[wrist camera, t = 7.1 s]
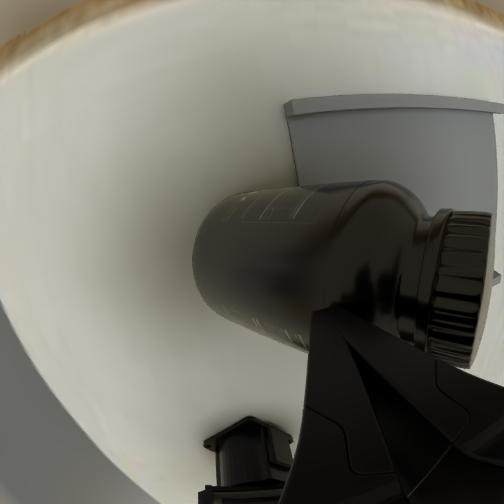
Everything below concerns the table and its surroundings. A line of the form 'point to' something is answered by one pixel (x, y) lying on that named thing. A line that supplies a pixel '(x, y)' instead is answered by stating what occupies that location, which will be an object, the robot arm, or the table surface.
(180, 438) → the table surface
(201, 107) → the table surface
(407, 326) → the supplement bottle
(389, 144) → the tray
